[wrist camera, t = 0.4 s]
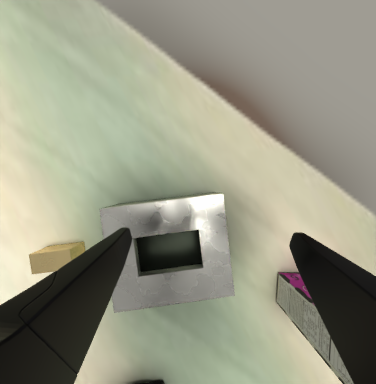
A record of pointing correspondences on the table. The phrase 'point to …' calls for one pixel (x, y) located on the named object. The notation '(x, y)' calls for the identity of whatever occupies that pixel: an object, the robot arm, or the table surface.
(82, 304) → the robot arm
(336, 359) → the candy bar box
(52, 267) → the tan wooden post
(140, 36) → the table surface
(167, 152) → the table surface
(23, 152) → the table surface
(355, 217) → the table surface
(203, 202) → the money box
